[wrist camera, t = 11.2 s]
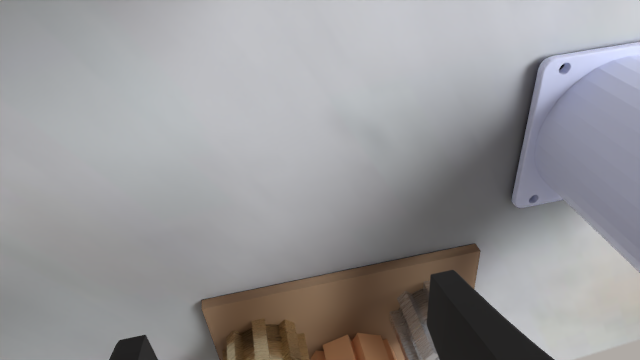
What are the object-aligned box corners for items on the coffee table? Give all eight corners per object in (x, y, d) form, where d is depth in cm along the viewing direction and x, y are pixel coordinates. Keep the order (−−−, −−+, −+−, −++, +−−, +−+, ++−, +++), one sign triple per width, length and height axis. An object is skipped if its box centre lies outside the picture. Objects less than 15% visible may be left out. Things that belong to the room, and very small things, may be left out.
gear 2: (468, 272, 26) (509, 336, 22) (460, 323, 28) (495, 388, 25) (389, 288, 25) (418, 357, 22) (389, 339, 28) (414, 407, 24)
